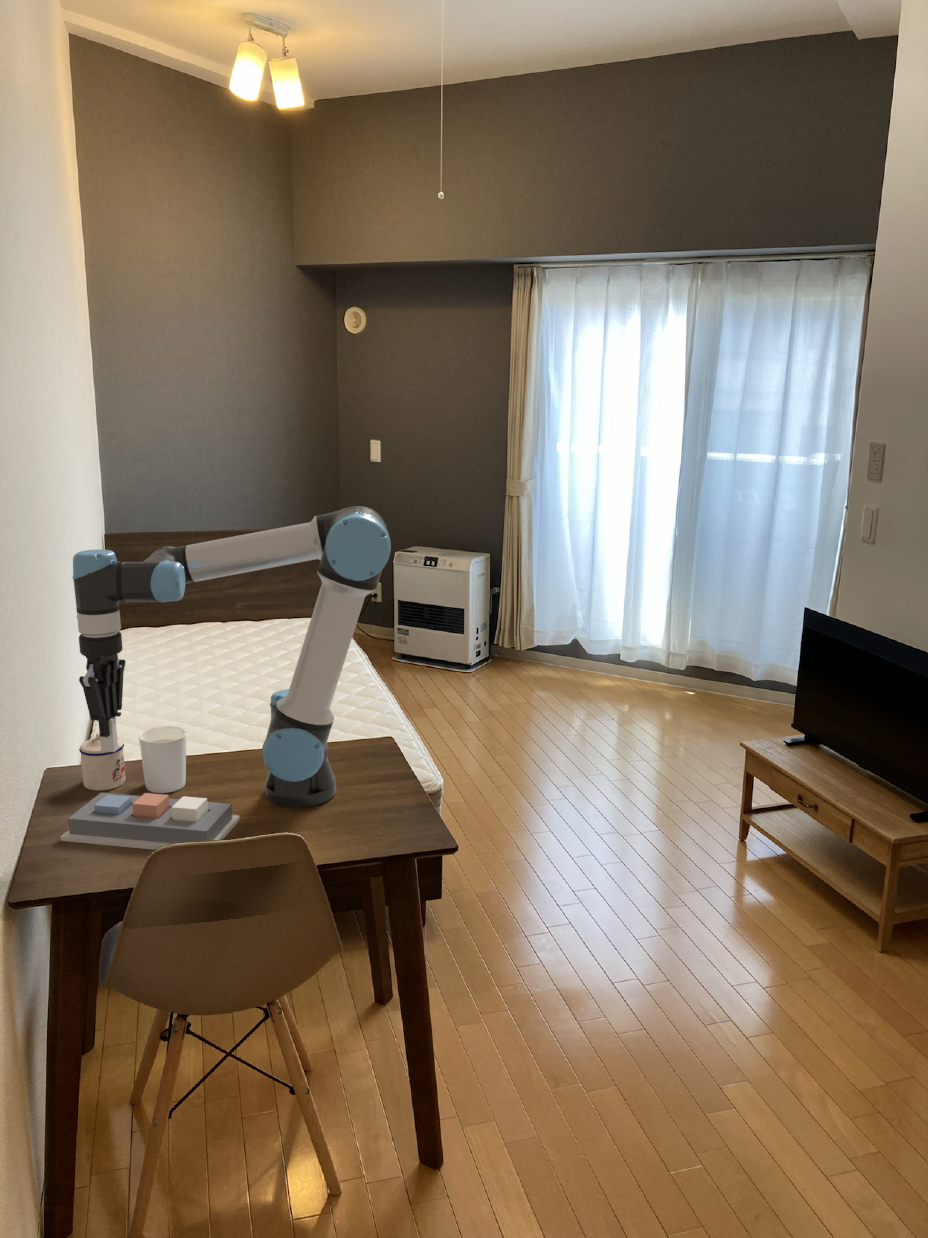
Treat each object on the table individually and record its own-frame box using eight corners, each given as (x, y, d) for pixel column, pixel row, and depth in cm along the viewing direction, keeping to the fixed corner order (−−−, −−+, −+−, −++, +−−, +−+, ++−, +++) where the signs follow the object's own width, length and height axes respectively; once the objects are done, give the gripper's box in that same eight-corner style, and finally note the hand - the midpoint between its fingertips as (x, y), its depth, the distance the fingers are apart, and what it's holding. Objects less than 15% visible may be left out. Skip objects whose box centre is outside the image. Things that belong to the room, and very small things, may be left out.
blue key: (132, 810, 185) (131, 796, 184) (119, 821, 180) (118, 807, 180) (108, 808, 186) (107, 794, 185) (95, 819, 181) (94, 805, 180)
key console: (240, 819, 188) (239, 801, 187) (209, 855, 173) (208, 835, 172) (101, 807, 192) (100, 789, 191) (60, 840, 178) (58, 821, 177)
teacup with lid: (122, 790, 200) (118, 740, 197) (78, 793, 198) (73, 741, 195) (132, 768, 211) (128, 720, 208) (90, 770, 210) (86, 722, 207)
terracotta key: (169, 809, 184) (168, 795, 183) (157, 820, 179) (156, 805, 178) (145, 806, 185) (144, 793, 184) (133, 818, 180) (132, 803, 179)
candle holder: (196, 778, 207) (194, 727, 204) (176, 797, 197) (173, 744, 194) (155, 774, 208) (152, 724, 205) (133, 793, 199) (129, 740, 196)
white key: (207, 812, 183) (207, 798, 182) (197, 823, 178) (196, 809, 177) (183, 810, 183) (183, 796, 183) (172, 821, 179) (171, 807, 178)
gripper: (99, 623, 181) (108, 736, 187) (61, 640, 168) (73, 761, 174) (135, 625, 180) (143, 739, 186) (100, 642, 167) (110, 764, 173)
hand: (109, 750), depth 180 cm, fingers closed
